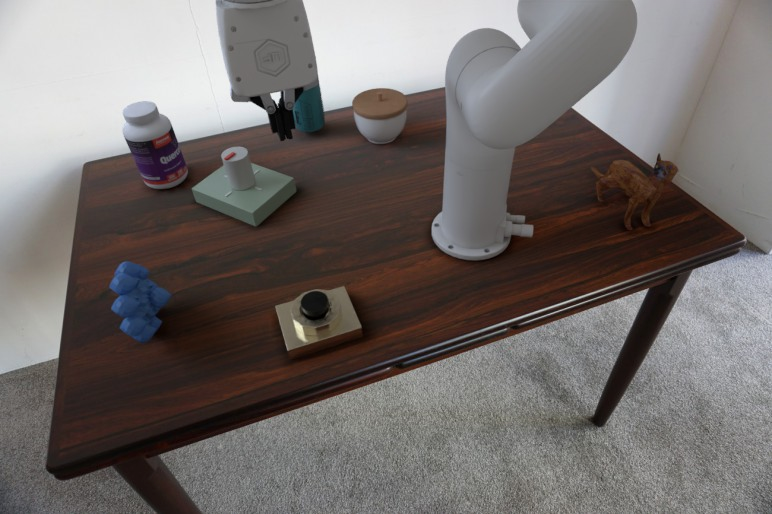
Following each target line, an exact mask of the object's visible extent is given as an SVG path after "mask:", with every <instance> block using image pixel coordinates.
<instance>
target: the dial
mask: <svg viewBox="0 0 772 514" xmlns="http://www.w3.org/2000/svg"><path fill="white" fill-rule="evenodd" d="M220 157H221V160H222V164H223V165H224V167H225V170H226V174H227V177H228V180H229V184H230V187H231V188H232V189H234V190H246V189H249V188H251V187H252V186H253V185H254V184H255V177H254V173H253V169H252V165H251V163H252V162H251V158H250V153H249V150H248V149H247V148H246V147H243V146H232V147H228V148H226V149H224V150H223V152H222V153H221V155H220Z"/></svg>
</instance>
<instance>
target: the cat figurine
mask: <svg viewBox="0 0 772 514" xmlns="http://www.w3.org/2000/svg"><path fill="white" fill-rule="evenodd" d="M590 170H591V172H593V174H594V176H596V177H597V178H598V179H599V180H597V181H596V182H595V190H596V197H597V200H598V201H599V202H600V203H603V202H604V200H603V198H602V197H603V196H602V195H603V190H609V189H611V188H618V189H619V190H623V191H624V192H625V195H626V196H627V197H628V198H629V199H628V207H627V209H626V211H625V214H624V217H623V224H624V227H625V229H626V230H627V231H633V229H634V228H633V227H632V225H631V223H632V222H631V221H632V220H631V219H632V215H633V214H634V212H635V211H636V209H637V206H638V204H645V206H644V207H643V210H642V213H641V218H640V219H641V223H642V224H643V226H644V227H645V228H646V227H647V228H649V227H650V228H651V226H652V224H651V222H650V214H651V211H652V210H653V208H654V207H655V205H656V203H657V200H658V199H660V198H661V193H663V192H664V185H667V184H670V183H671V182H672V181H673V179H674V178H675V176H676V175H677V173H678V172H679V168H678V166H677V165H676V164H675V163H673V162H672V161H671V160H663V159H662V157H661V153H657V156H656V162H655V165H654V166H653V170H652V176H653V178H655V180H656V183H657V184H656V187H655V186H654V184H652V182H651V181H650V179H649V178H648V176H647V175H646V174H645V172H643V171H642V170H641V169H640V168H639V167H637V166H636V165H634V164H633V163H632V162H631V161H629V160H626V159H625V160H624V159H617V160H614V161H612V163H611V164H610V165H609V168H608V170H607V171H606V173H605V174H602V173H601V172H600V171H599V170H598V169H597V168H596V167H595V166H591V167H590Z"/></svg>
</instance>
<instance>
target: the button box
mask: <svg viewBox="0 0 772 514" xmlns="http://www.w3.org/2000/svg"><path fill="white" fill-rule="evenodd" d="M312 291H320V292H323V293H324V294H326V296H327V297H328V301H329V308H330V309H329V312H328V314H327V315H326V316H325V317H323V318H322V319H319V320H310V319H308V318H306V317H305V316H304V315H303V312H302V308H301V299H302V297H303V296H304V295H305V294H307V293H309V292H312ZM274 308H275V312H276V316H277V318H278V321H279V326H280V329H281V333H282V336H283V340H284V344H285V346H286V351H287V354H288V357H289V358H288V359H289V360H290V361H292V360H295V359H298V358H301V357H304V356H307V355H311V354H314V353H317V352H320V351H324V350H327V349H330V348H333V347H336V346H339V345H342V344H343V345H344V344H346V343H349V342H352V341H356V340H358V339H362V338H363V337H364V334H363V327H362V324H361V322H360V319H359V317H358V315H357V313H356V310H355V308H354V306H353V302H352V301H351V298H350V296H349V294H348V291H347V288H346V286H345V285H342V286H338V287H335V288H332V289H320V288H315V289H311V290H307V291H304V292H302V293H300V295H299V296H297V297H296V298H295V299H293V300H291V301H286V302H284V303H280V304H277V305H275V306H274Z"/></svg>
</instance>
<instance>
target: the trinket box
mask: <svg viewBox="0 0 772 514" xmlns="http://www.w3.org/2000/svg"><path fill="white" fill-rule="evenodd" d="M351 103H352V104H351V105H352V106H351V107H352V110H353V119H354V123H355V126H356V128H357V130H358V131H359V133H360V134H361V135H362V136H363V137H364V138H365V139H366V140H367V141H368V142H370V143H372V144H376V145H385V144H389V143H392V142H393V141H395V140H396V139H397V137H398V136H399V135H400V134H401V133H402V132H403V130H404V128H405V126H406V123H407V115H408V106H409V105H408V103H409V102H408V97H407V96H406V95H405V94H404V93H403V92H401V91H399V90H397V89H394V88H388V87H387V88H386V87H376V88H371V89H366V90H364V91H361V92H359V93H358V94H356V95H355V96H354V97H353V99H352V102H351Z"/></svg>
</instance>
